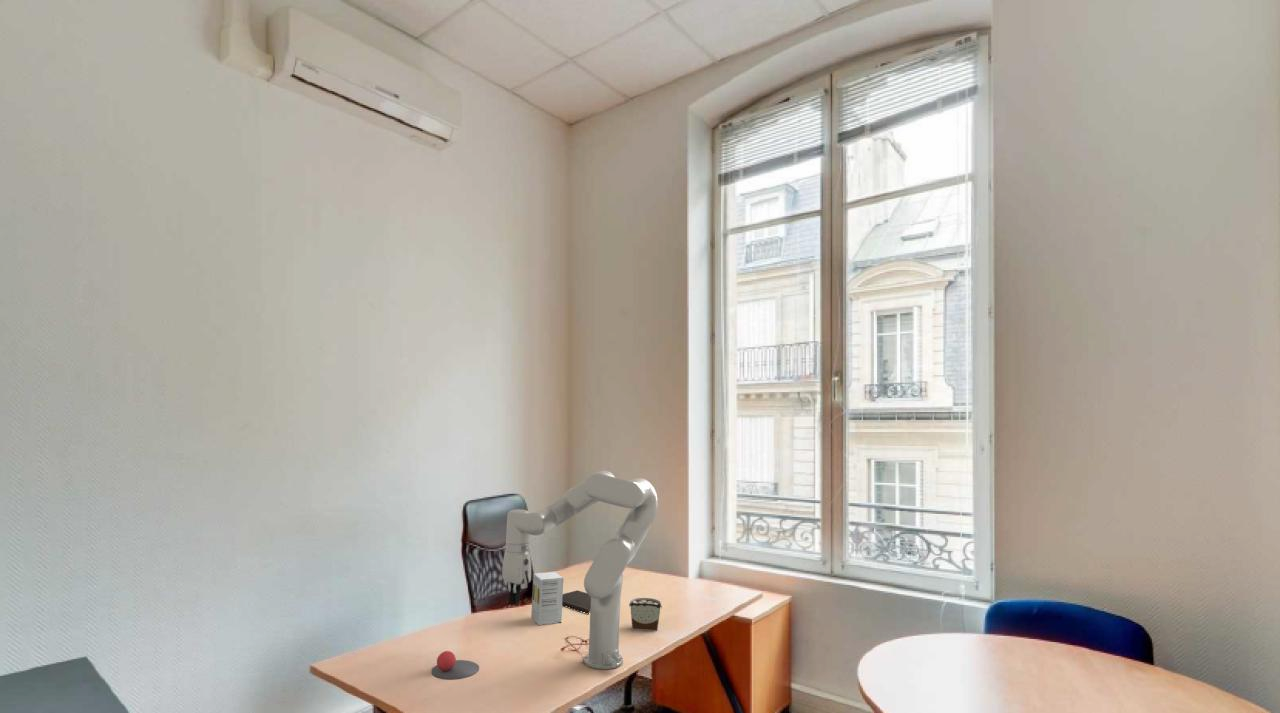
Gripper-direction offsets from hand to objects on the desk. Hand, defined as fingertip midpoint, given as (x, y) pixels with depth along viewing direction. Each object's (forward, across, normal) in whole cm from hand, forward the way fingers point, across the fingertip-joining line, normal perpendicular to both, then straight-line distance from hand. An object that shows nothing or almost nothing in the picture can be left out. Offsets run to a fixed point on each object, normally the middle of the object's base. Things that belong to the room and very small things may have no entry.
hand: (514, 603), depth 214 cm
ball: (+12, +2, +24) cm, 27 cm away
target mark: (+15, 0, +22) cm, 27 cm away
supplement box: (+15, +15, -28) cm, 36 cm away
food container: (+15, -17, -50) cm, 54 cm away
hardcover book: (+16, +20, -54) cm, 59 cm away
